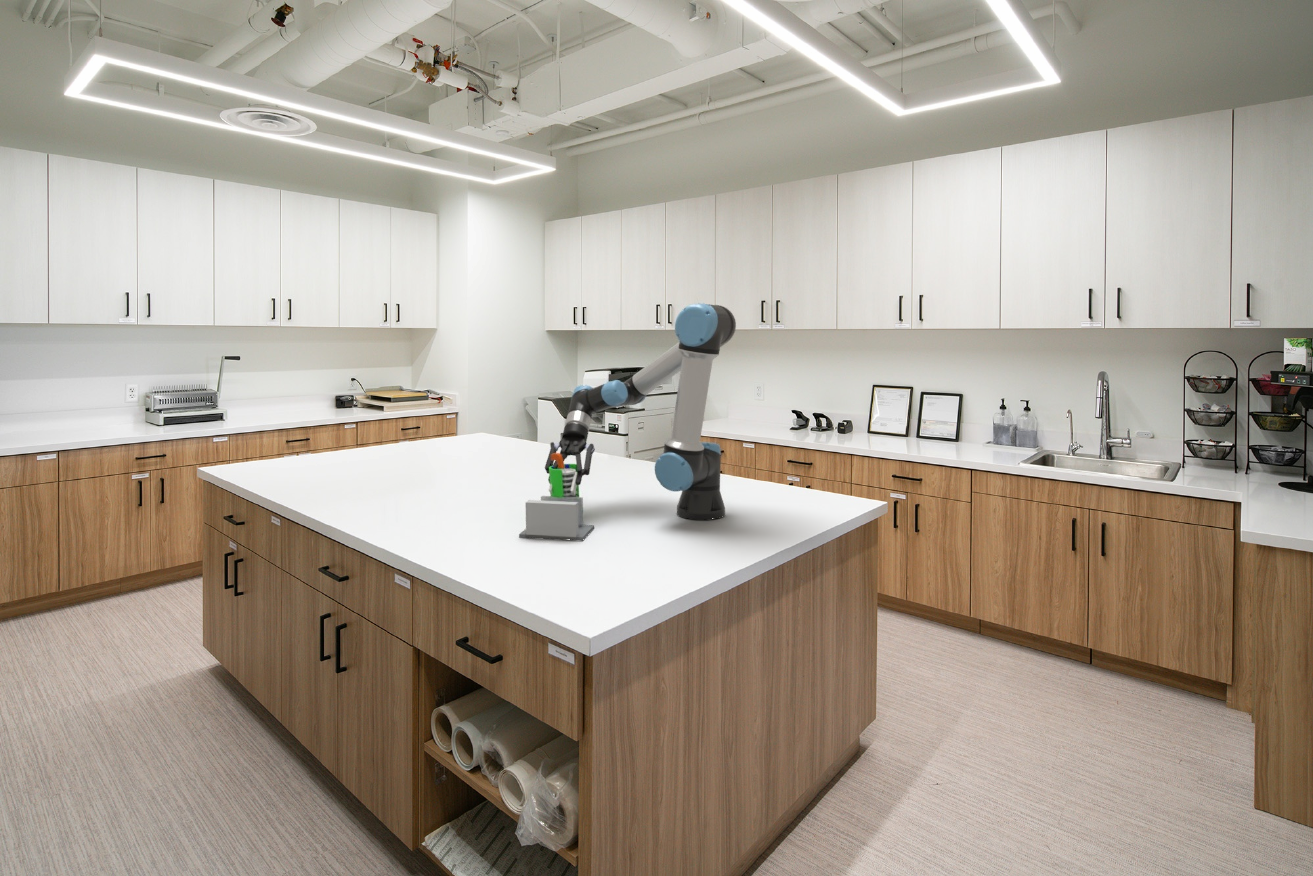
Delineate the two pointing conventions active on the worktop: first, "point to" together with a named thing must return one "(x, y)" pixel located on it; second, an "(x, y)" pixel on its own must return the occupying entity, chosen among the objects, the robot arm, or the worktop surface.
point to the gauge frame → (553, 521)
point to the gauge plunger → (568, 499)
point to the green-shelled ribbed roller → (562, 477)
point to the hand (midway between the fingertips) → (561, 492)
